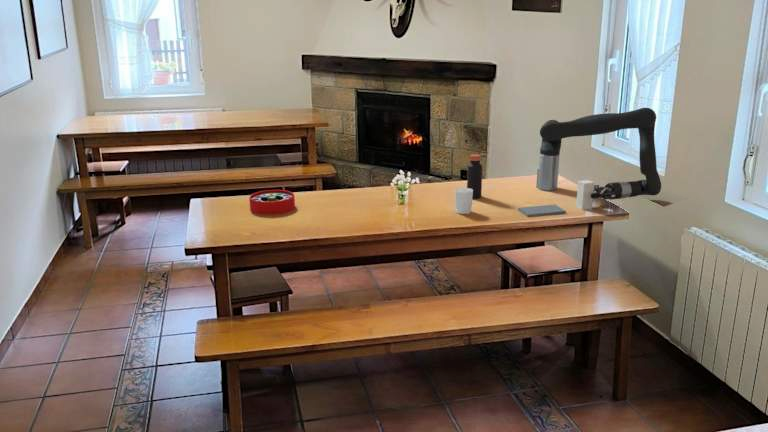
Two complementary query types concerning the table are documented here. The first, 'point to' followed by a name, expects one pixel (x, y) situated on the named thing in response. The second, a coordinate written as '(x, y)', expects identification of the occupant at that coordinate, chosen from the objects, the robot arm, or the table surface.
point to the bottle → (475, 175)
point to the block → (585, 194)
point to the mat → (541, 210)
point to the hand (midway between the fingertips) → (586, 193)
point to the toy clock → (272, 202)
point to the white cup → (463, 200)
